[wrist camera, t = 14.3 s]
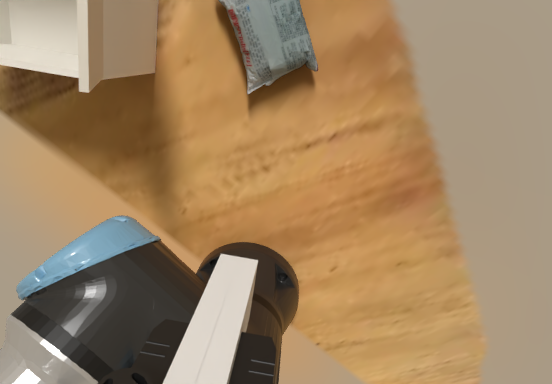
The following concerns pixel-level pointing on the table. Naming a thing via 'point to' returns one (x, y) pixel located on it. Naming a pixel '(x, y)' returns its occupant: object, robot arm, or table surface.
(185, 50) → the table surface
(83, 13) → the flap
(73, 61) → the carton
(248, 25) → the packaged food
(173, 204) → the table surface
